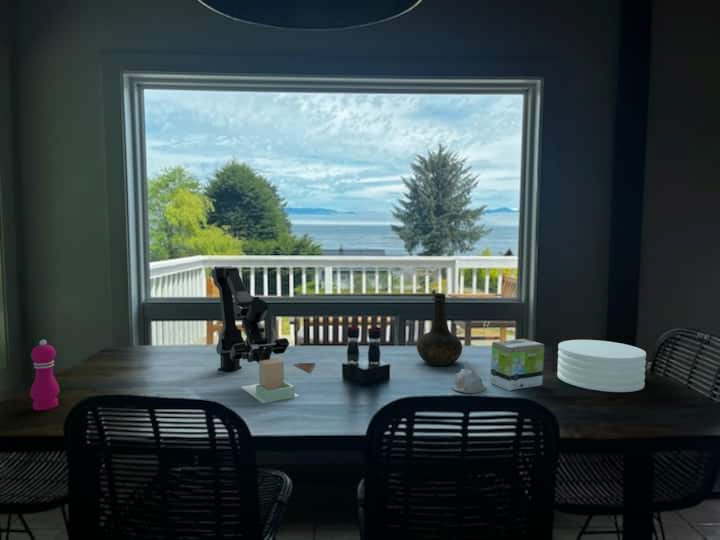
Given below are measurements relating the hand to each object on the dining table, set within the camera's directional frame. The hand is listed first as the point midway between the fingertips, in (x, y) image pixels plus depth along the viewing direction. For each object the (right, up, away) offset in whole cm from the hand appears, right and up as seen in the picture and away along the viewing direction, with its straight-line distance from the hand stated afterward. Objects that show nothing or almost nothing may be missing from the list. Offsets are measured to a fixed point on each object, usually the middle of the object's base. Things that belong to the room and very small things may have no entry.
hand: (267, 371), depth 157 cm
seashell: (+66, -8, +9) cm, 67 cm away
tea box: (+83, -8, +13) cm, 85 cm away
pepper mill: (-63, -8, -11) cm, 65 cm away
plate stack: (+115, -7, +20) cm, 117 cm away
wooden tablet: (+7, -7, +26) cm, 28 cm away
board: (+1, -8, 0) cm, 8 cm away
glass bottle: (+61, -5, +41) cm, 73 cm away
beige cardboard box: (+2, -6, -2) cm, 7 cm away
